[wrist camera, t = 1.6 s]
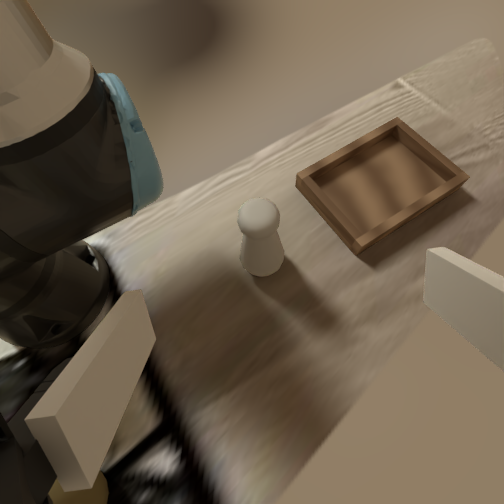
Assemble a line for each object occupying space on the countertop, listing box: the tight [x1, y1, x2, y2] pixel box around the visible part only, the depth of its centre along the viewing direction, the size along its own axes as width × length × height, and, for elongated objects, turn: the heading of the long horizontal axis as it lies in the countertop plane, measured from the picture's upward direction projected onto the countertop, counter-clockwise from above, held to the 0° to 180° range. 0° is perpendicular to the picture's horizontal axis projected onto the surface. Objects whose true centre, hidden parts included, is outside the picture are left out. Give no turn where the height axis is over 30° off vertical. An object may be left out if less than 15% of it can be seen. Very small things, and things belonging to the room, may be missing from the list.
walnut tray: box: [295, 117, 470, 256], centre depth 43 cm, size 19×14×3 cm
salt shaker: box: [237, 197, 284, 277], centre depth 34 cm, size 6×6×13 cm
